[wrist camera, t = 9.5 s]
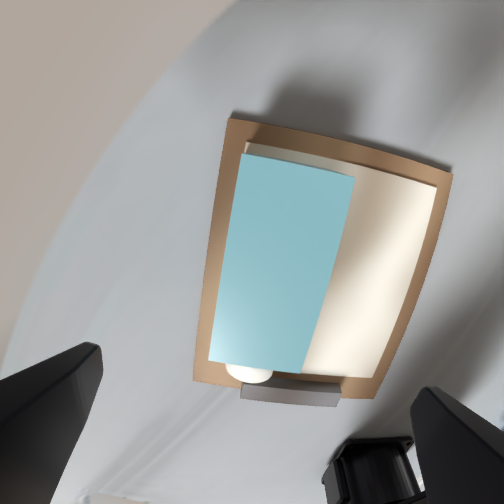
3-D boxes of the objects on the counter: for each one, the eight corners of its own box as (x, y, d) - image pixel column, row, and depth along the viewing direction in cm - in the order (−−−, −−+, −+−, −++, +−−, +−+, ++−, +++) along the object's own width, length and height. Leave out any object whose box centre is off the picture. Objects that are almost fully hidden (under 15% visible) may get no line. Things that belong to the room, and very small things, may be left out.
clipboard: (449, 173, 15) (463, 176, 13) (371, 395, 19) (377, 408, 18) (228, 118, 14) (226, 115, 13) (193, 376, 19) (189, 391, 18)
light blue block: (245, 152, 14) (241, 153, 10) (330, 169, 14) (355, 177, 11) (214, 339, 17) (204, 386, 14) (285, 350, 18) (291, 399, 14)
